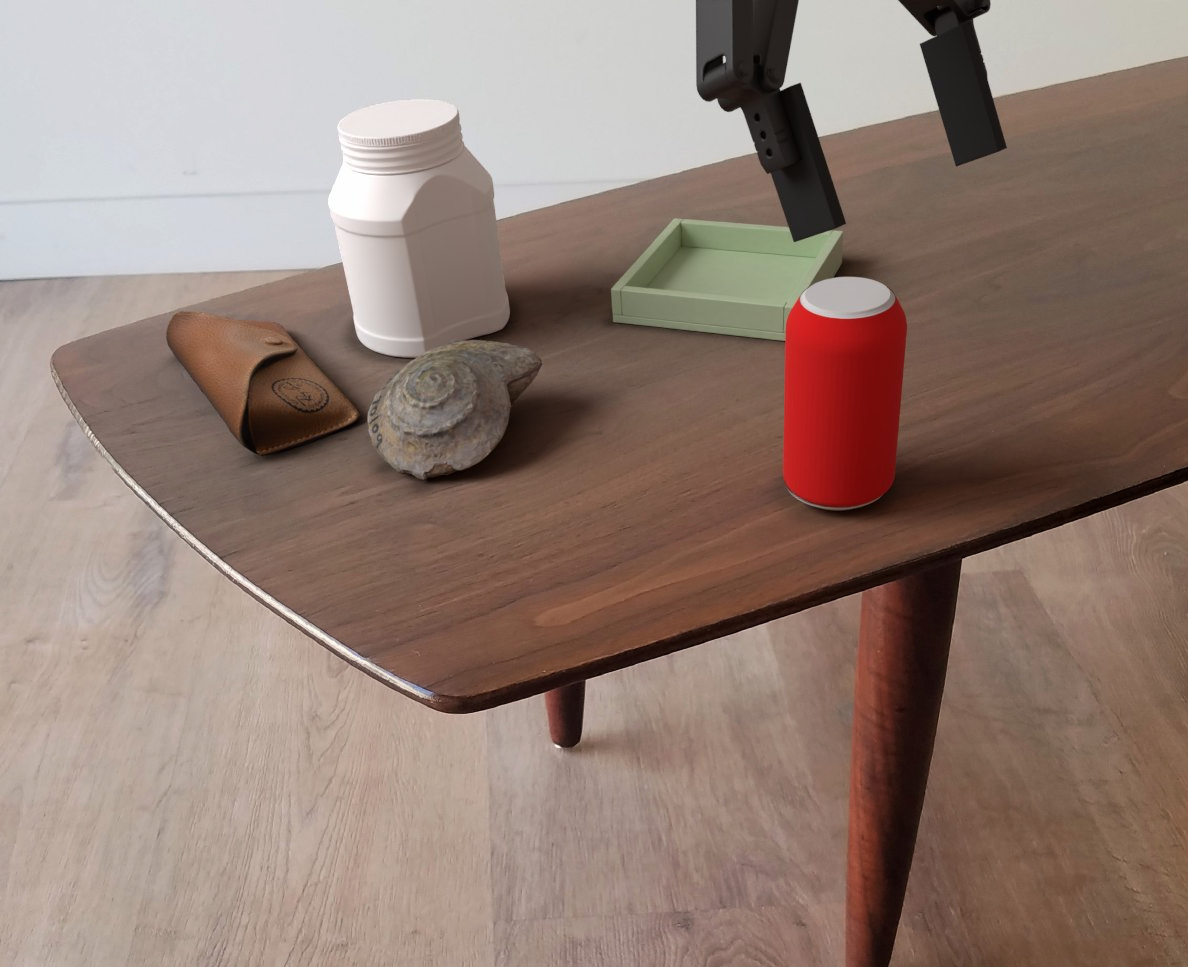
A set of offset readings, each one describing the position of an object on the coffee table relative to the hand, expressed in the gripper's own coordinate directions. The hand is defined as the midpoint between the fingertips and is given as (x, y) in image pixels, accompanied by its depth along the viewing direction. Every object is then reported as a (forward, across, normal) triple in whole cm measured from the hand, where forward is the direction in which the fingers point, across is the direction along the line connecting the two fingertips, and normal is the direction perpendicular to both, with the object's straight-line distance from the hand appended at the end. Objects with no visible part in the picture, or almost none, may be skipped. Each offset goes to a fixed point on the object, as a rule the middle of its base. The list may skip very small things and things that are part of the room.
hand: (905, 194), depth 61 cm
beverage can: (+14, +3, -8) cm, 17 cm away
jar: (-2, +4, -41) cm, 41 cm away
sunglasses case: (-3, +18, -42) cm, 46 cm away
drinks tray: (+4, -14, -28) cm, 31 cm away
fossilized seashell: (+5, +12, -28) cm, 31 cm away
